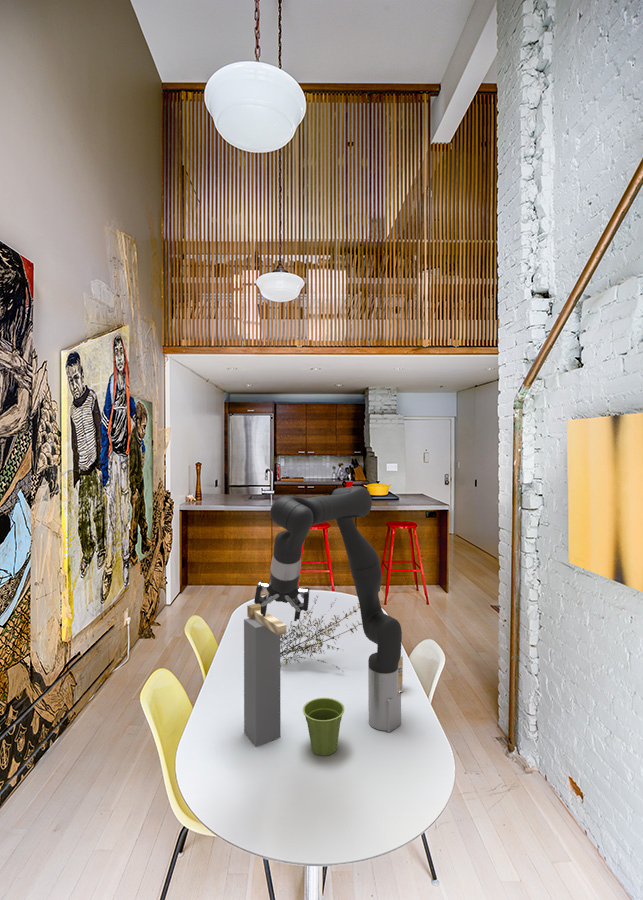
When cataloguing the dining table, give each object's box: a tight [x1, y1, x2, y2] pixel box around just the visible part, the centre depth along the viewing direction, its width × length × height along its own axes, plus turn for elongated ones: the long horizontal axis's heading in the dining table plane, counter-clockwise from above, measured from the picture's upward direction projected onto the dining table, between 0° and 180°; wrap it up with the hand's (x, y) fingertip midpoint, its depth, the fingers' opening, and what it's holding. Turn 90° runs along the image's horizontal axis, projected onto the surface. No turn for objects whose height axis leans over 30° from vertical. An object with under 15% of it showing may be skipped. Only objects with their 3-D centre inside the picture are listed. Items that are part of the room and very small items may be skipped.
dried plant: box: [280, 596, 363, 672], centre depth 182 cm, size 30×31×45 cm
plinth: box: [243, 617, 281, 748], centre depth 136 cm, size 8×8×34 cm
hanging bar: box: [246, 603, 288, 636], centre depth 134 cm, size 18×4×3 cm, turn 34°
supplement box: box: [398, 654, 404, 692], centre depth 161 cm, size 8×5×13 cm, turn 105°
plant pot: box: [302, 697, 345, 757], centre depth 130 cm, size 12×12×11 cm
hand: (279, 616), depth 124 cm, fingers open, 8 cm apart
